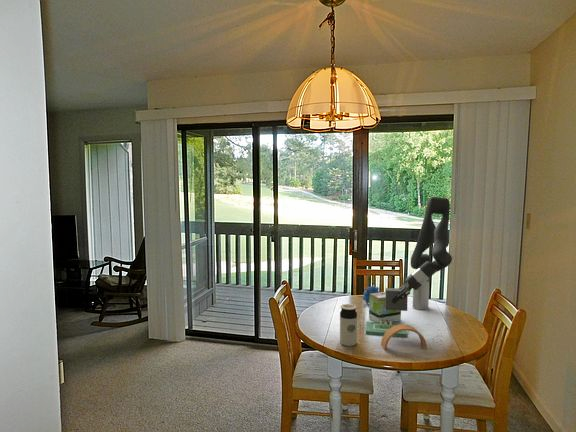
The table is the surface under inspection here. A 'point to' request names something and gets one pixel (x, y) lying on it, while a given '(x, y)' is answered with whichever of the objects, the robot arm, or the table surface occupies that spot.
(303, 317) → the table surface
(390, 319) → the tea box
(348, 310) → the travel mug
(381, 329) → the board
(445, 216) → the robot arm
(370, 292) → the grapes
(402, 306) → the block
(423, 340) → the arch
